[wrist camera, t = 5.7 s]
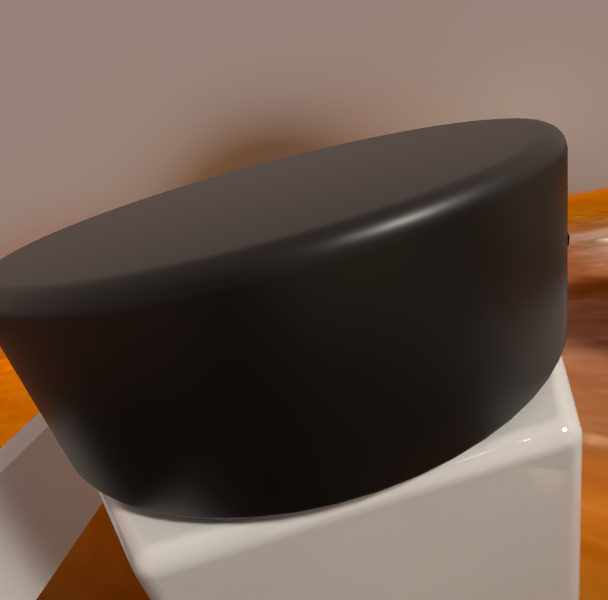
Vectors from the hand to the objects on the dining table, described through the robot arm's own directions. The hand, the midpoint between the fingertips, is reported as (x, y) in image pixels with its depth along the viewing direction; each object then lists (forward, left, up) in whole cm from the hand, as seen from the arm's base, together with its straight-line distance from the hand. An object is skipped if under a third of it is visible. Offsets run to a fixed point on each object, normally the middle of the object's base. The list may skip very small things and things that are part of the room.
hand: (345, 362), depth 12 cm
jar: (0, +3, -7) cm, 7 cm away
